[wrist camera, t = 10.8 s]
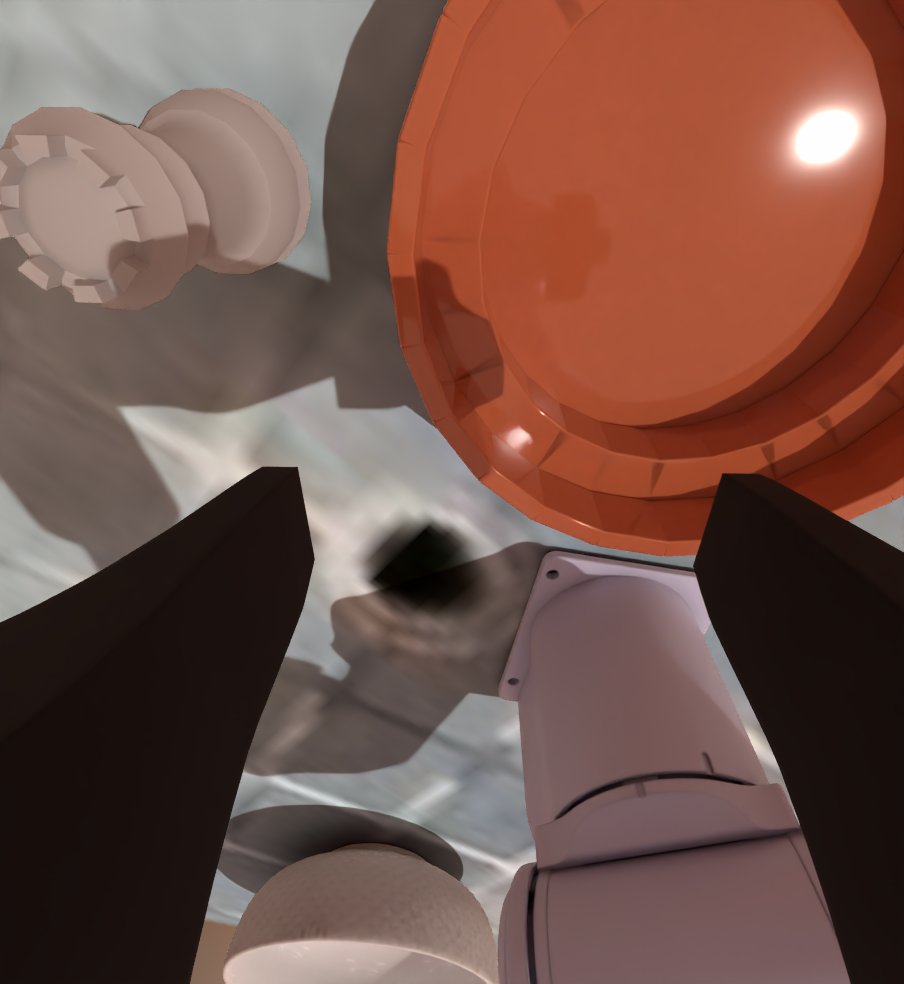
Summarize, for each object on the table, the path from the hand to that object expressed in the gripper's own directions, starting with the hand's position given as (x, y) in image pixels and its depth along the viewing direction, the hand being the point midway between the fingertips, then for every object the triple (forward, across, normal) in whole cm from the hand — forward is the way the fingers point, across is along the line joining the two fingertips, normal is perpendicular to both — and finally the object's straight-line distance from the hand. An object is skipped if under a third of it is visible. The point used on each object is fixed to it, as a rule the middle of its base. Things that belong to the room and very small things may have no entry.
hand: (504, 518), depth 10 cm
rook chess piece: (+10, +7, -4) cm, 13 cm away
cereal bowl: (+10, +7, +38) cm, 40 cm away
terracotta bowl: (+10, -6, -3) cm, 12 cm away
